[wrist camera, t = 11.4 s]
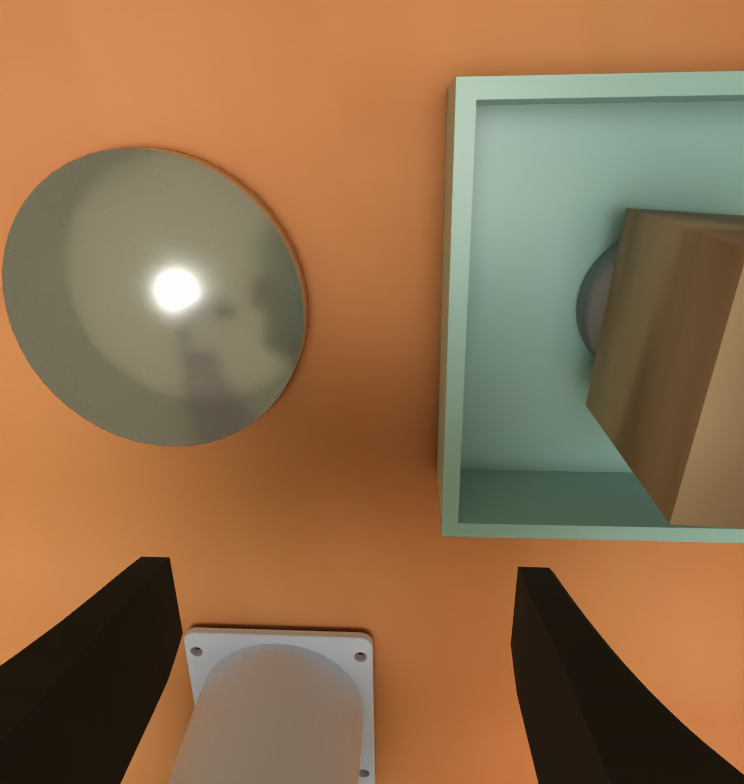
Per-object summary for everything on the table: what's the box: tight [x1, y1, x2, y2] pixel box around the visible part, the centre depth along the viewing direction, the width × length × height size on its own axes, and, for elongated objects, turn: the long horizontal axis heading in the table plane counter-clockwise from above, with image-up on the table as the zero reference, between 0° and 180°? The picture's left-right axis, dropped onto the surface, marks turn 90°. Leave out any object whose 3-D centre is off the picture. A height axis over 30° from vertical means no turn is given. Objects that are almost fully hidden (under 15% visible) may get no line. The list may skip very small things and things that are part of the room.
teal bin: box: [437, 71, 744, 543], centre depth 19 cm, size 13×13×4 cm
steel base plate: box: [2, 147, 308, 446], centre depth 21 cm, size 10×10×1 cm
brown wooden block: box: [576, 208, 744, 529], centre depth 16 cm, size 5×6×8 cm
